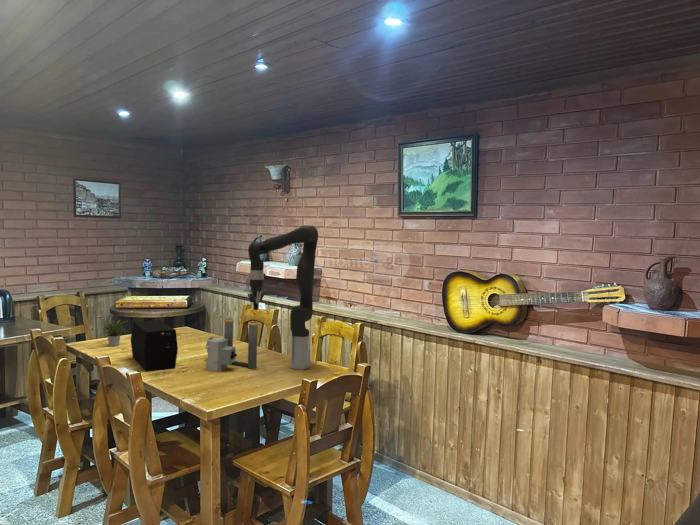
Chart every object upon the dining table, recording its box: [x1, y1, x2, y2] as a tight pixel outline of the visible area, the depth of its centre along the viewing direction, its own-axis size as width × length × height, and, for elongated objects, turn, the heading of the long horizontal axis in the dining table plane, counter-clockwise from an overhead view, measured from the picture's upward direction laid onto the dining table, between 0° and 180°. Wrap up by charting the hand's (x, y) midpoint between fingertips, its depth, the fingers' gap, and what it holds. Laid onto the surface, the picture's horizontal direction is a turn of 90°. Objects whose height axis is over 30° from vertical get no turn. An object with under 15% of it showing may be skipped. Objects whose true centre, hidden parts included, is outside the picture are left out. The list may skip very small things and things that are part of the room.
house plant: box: [103, 319, 127, 348], centre depth 299 cm, size 14×14×16 cm
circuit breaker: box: [205, 337, 238, 372], centre depth 255 cm, size 8×14×15 cm, turn 78°
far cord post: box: [223, 317, 235, 365], centre depth 267 cm, size 5×5×24 cm
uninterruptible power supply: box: [130, 319, 179, 373], centre depth 262 cm, size 16×34×20 cm, turn 34°
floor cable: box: [231, 360, 248, 368], centre depth 264 cm, size 11×2×2 cm, turn 64°
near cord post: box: [247, 321, 259, 370], centre depth 259 cm, size 5×5×24 cm
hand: (255, 309), depth 273 cm, fingers closed
